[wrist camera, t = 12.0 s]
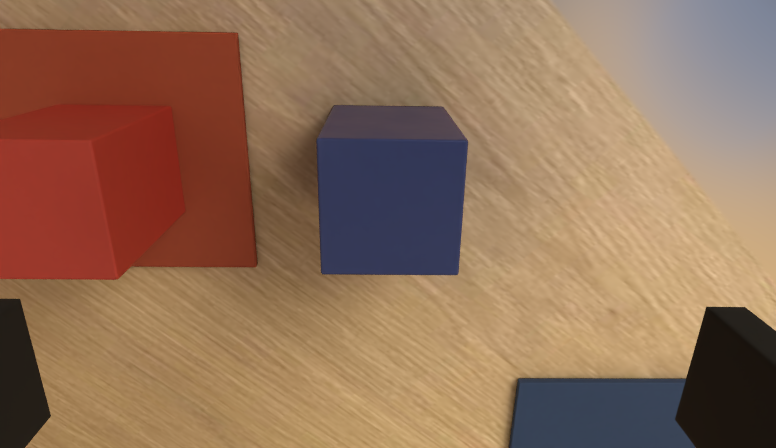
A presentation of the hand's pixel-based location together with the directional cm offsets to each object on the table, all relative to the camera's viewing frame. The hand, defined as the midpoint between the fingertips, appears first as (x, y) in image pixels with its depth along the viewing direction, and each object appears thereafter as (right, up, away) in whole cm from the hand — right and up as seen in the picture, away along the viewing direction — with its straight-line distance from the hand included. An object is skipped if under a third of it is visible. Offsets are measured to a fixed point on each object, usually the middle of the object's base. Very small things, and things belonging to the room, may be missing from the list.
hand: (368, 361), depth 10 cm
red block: (-12, +6, +14) cm, 19 cm away
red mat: (-12, +6, +14) cm, 19 cm away
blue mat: (+13, -11, +21) cm, 27 cm away
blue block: (0, +6, +14) cm, 15 cm away
